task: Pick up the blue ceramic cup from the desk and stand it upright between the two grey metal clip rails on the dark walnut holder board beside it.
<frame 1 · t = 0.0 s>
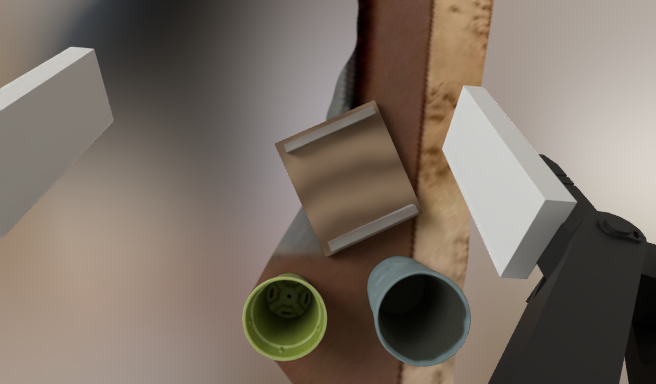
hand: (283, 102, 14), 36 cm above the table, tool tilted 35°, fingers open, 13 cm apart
blue ceramic cup: (395, 286, 52), on the table
holder board: (348, 178, 50), on the table
plant pot: (288, 294, 51), on the table
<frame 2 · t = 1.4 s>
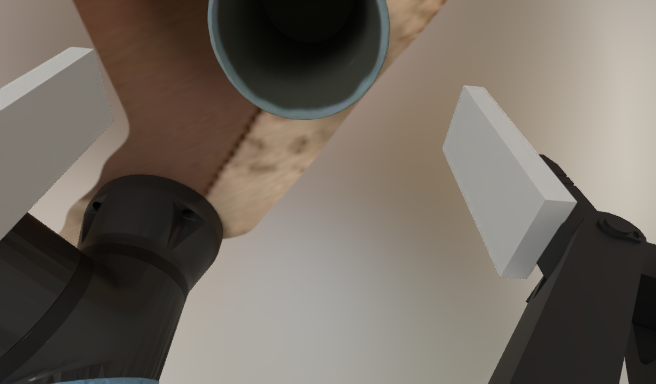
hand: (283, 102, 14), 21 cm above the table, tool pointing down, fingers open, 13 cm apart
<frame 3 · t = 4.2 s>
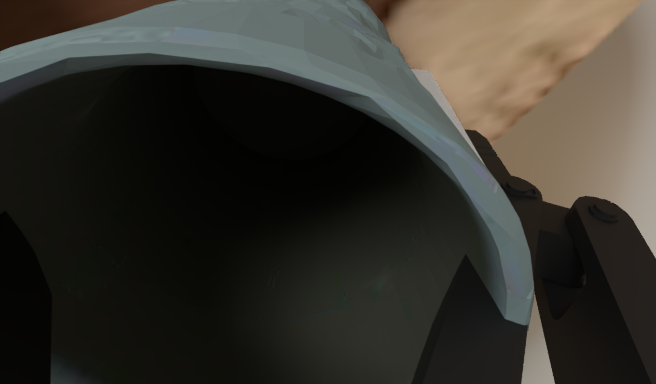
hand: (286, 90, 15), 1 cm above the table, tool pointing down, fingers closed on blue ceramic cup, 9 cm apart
blue ceramic cup: (286, 77, 16), on the table, touching gripper
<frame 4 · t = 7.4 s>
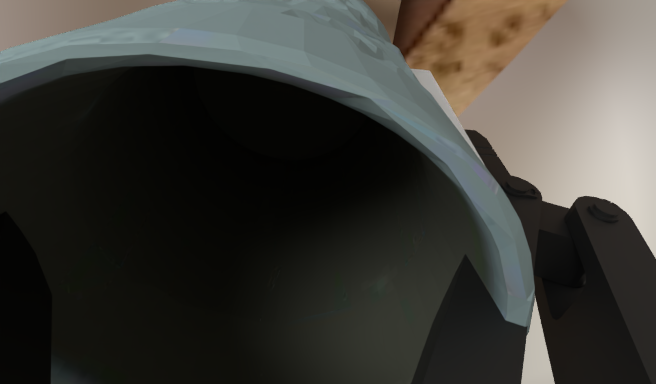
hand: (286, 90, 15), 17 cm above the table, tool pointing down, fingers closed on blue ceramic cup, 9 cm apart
blue ceramic cup: (286, 78, 16), point 16 cm above the table, touching gripper
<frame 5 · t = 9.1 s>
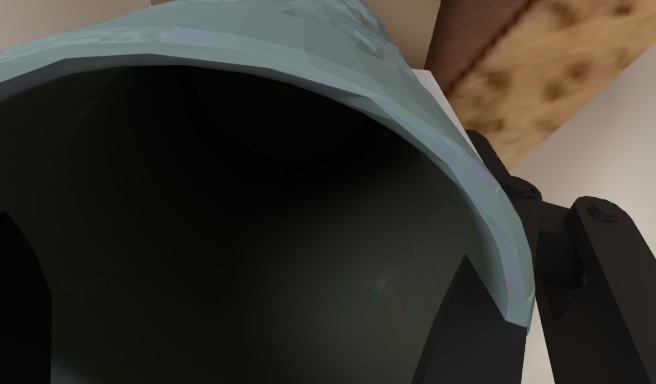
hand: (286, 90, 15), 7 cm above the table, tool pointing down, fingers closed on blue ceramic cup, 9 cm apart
blue ceramic cup: (286, 78, 16), point 6 cm above the table, touching gripper
holder board: (295, 37, 21), on the table
when the fingers open (5 cm above the table, at t = 10.7 s): blue ceramic cup drops 2 cm, resting on holder board.
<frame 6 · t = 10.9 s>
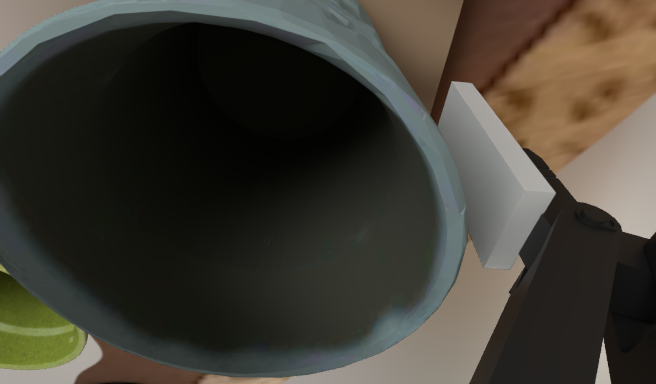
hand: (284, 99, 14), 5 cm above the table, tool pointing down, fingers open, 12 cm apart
blue ceramic cup: (281, 62, 18), point 1 cm above the table, touching holder board
holder board: (294, 52, 19), on the table
plant pot: (76, 199, 25), on the table
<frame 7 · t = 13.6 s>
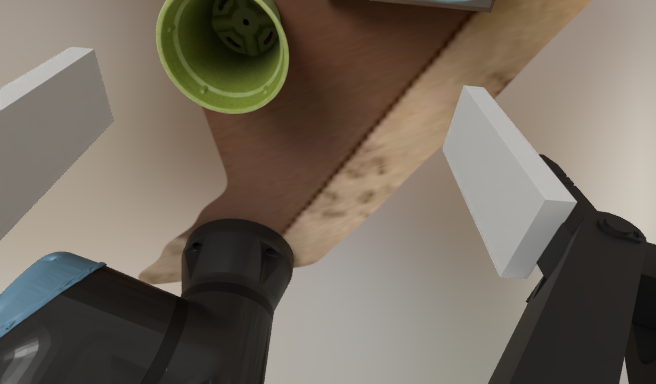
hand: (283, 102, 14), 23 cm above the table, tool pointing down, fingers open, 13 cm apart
plant pot: (246, 19, 34), on the table
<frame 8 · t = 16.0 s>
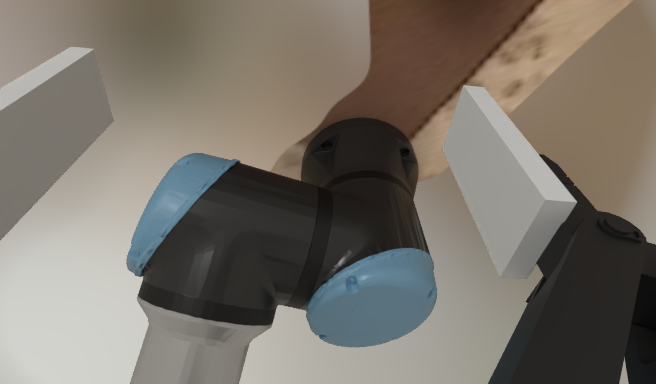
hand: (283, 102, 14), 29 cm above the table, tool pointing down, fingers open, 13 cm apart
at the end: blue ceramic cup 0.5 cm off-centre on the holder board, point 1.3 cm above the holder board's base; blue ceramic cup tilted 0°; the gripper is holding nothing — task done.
